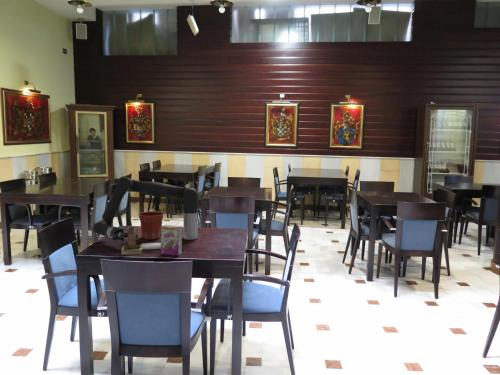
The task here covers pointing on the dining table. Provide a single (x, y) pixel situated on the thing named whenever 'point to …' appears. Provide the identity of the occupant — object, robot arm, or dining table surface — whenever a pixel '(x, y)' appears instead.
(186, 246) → the dining table surface
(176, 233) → the candy bar box
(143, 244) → the mat
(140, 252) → the collar
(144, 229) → the flower pot
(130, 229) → the pepper mill
